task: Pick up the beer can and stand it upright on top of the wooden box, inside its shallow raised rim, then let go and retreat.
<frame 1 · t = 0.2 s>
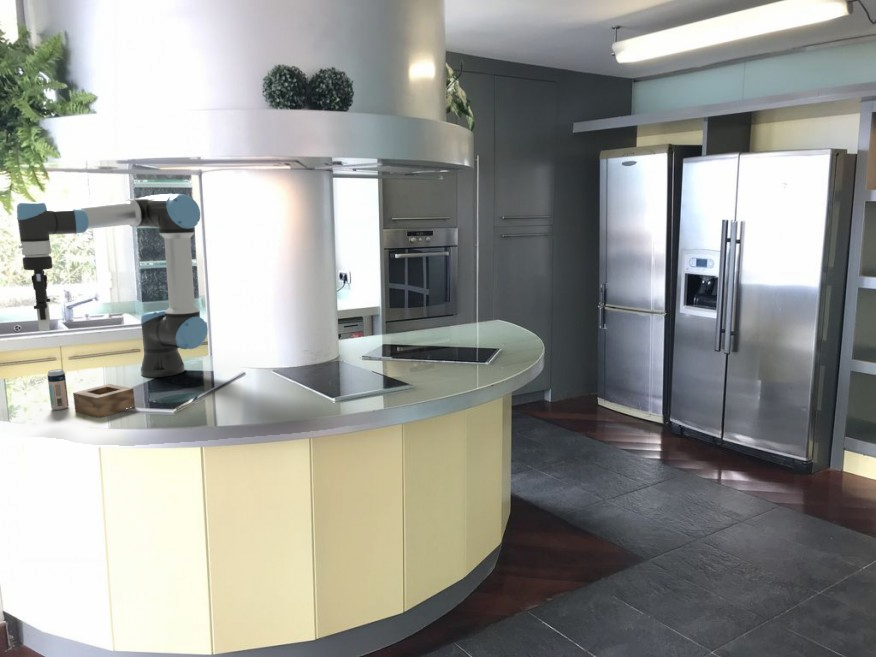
hand: (45, 327, 214), 26 cm above the countertop, fingers open, 13 cm apart
beer can: (60, 409, 222), on the countertop
wooden box: (105, 409, 220), on the countertop
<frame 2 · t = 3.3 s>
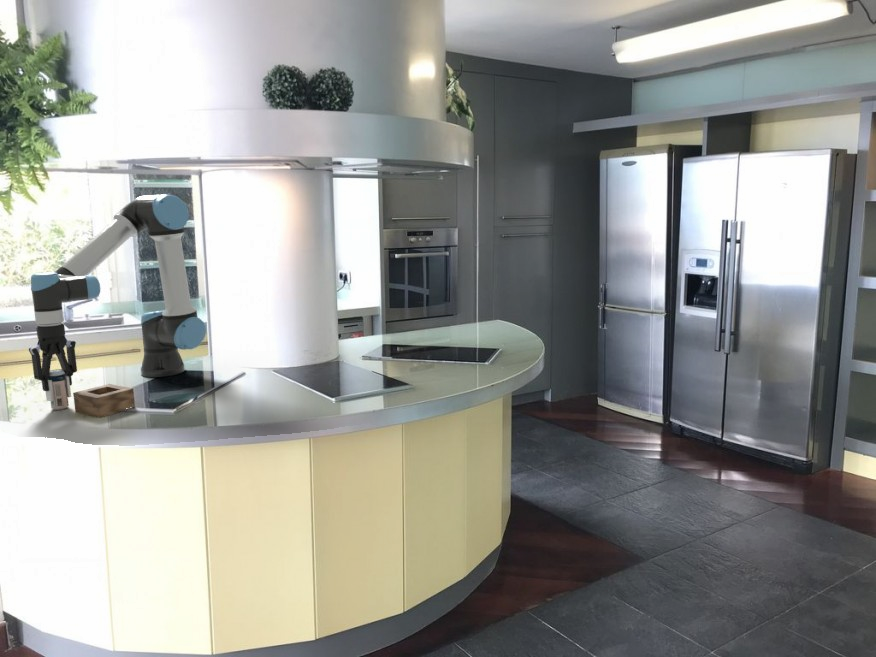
hand: (59, 398, 221), 3 cm above the countertop, fingers closed on beer can, 5 cm apart
beer can: (60, 409, 222), on the countertop, touching gripper
everything else where it was.
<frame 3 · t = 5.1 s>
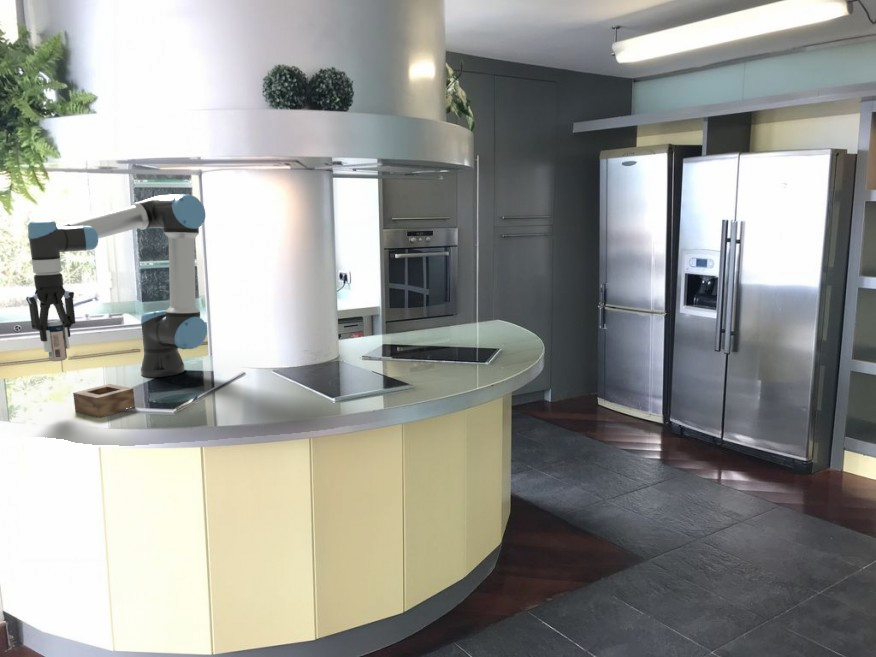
hand: (57, 349, 218), 19 cm above the countertop, fingers closed on beer can, 5 cm apart
beer can: (58, 360, 219), point 15 cm above the countertop, touching gripper
everything else where it was.
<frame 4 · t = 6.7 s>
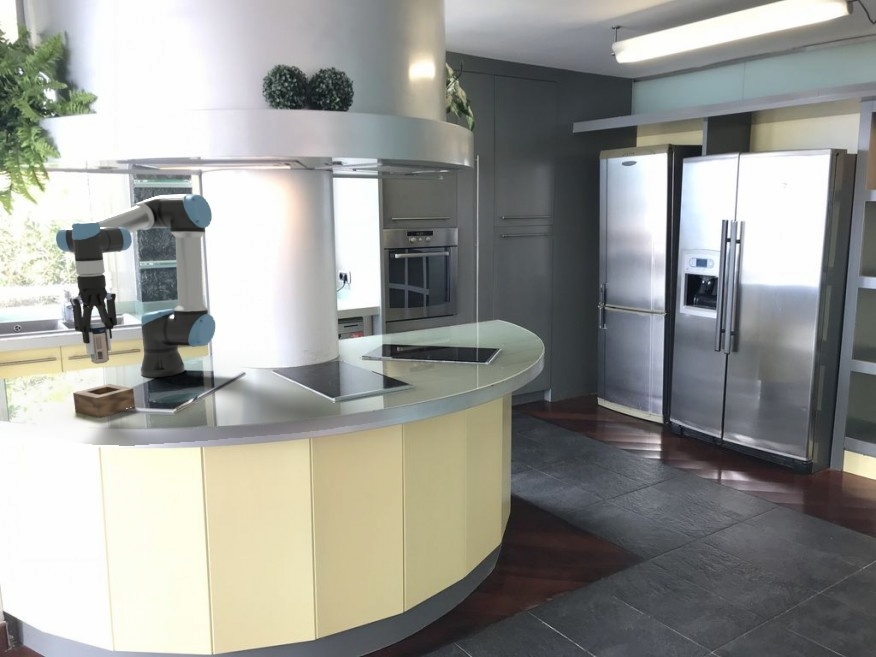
hand: (99, 351, 216), 18 cm above the countertop, fingers closed on beer can, 5 cm apart
beer can: (100, 362, 217), point 15 cm above the countertop, touching gripper
everything else where it was.
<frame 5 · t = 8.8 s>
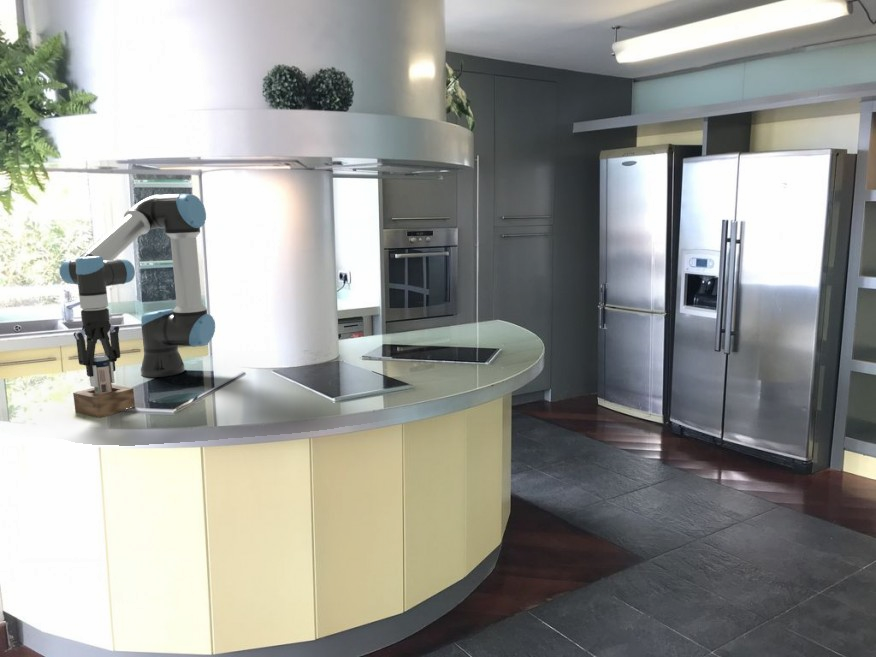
hand: (102, 384, 218), 8 cm above the countertop, fingers closed on beer can, 5 cm apart
beer can: (104, 395, 219), point 5 cm above the countertop, touching gripper
everything else where it was.
when the fingers open (8 cm above the countertop, at t = 10.4 s): beer can drops 1 cm, resting on wooden box.
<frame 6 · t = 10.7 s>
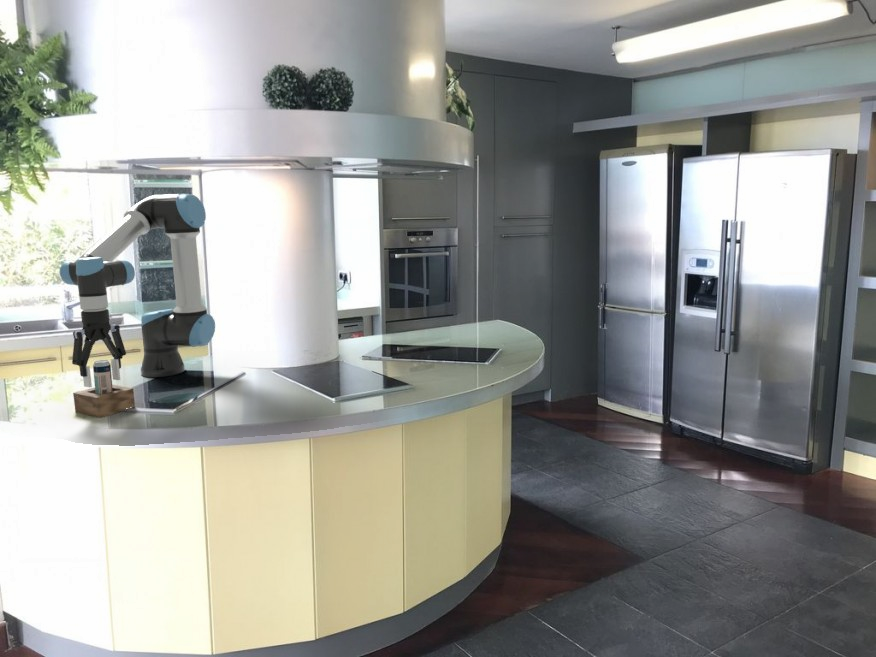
hand: (102, 382, 218), 8 cm above the countertop, fingers open, 9 cm apart
beer can: (104, 400, 219), point 3 cm above the countertop, touching wooden box
everything else where it was.
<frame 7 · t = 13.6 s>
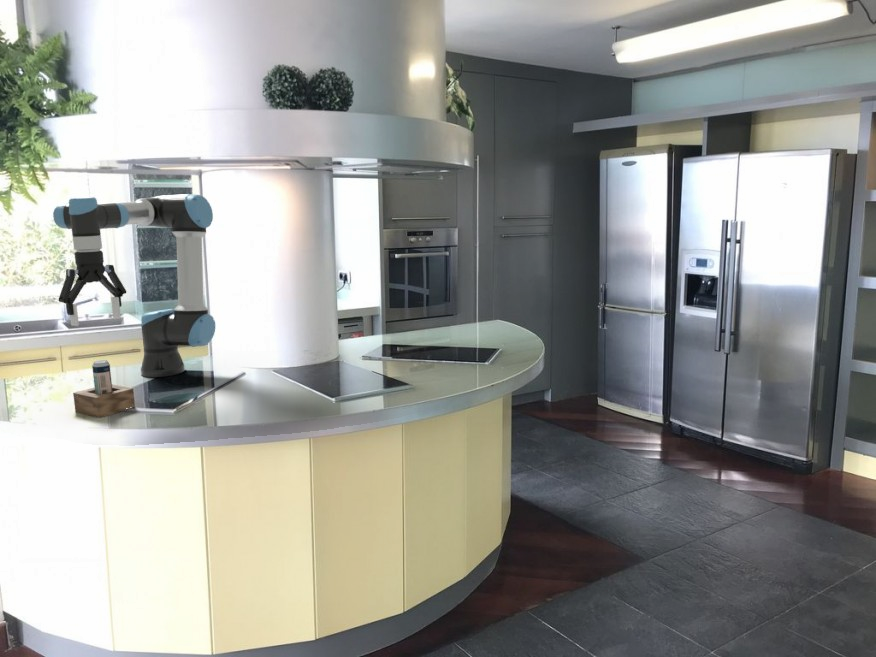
hand: (96, 321, 215), 27 cm above the countertop, fingers open, 13 cm apart
nothing on the countertop moved.
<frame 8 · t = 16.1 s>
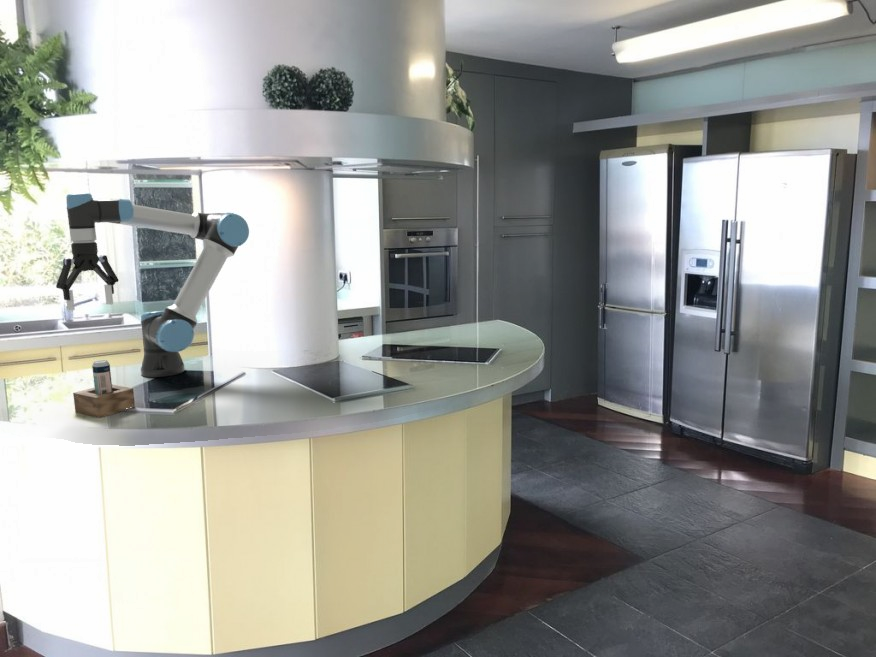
hand: (90, 307, 235), 29 cm above the countertop, fingers open, 13 cm apart
nothing on the countertop moved.
at the end: beer can inside the target area on the wooden box (0.1 cm from its centre), point 2.8 cm above the wooden box's base; beer can tilted 0°; the gripper is holding nothing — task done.
